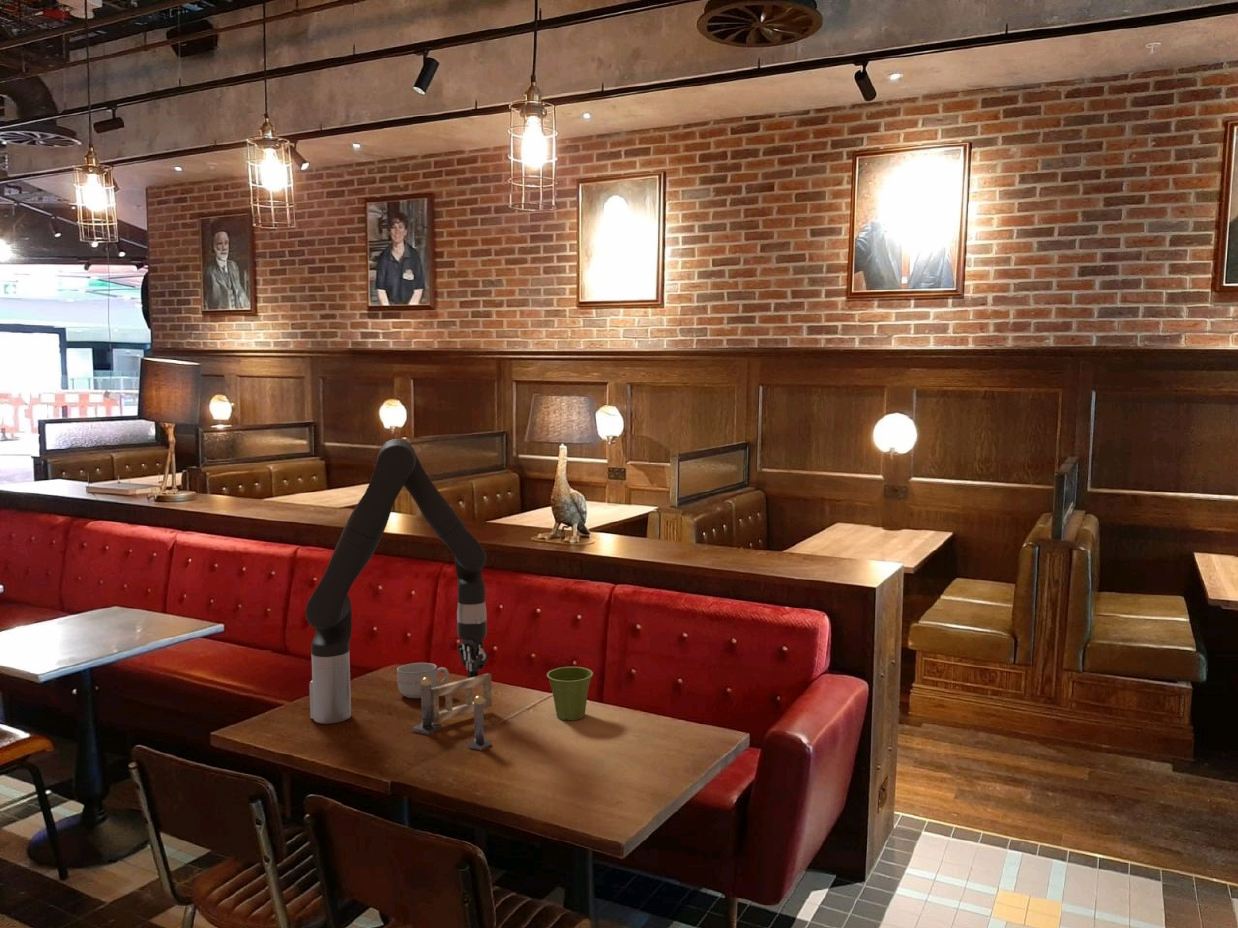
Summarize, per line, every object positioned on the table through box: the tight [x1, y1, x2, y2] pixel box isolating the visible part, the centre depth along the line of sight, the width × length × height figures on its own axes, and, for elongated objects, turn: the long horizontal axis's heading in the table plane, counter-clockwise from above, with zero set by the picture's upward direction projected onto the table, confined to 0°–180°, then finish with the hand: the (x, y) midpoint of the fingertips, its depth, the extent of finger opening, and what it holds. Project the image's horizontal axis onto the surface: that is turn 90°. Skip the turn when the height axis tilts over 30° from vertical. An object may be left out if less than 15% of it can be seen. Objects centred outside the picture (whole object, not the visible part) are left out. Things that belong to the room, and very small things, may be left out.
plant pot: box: [546, 666, 594, 721], centre depth 236 cm, size 12×12×11 cm
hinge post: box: [411, 677, 442, 736], centre depth 227 cm, size 5×5×13 cm
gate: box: [431, 672, 493, 724], centre depth 234 cm, size 17×2×8 cm, turn 134°
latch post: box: [467, 695, 492, 751], centre depth 217 cm, size 4×4×12 cm
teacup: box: [396, 662, 450, 699], centre depth 252 cm, size 14×11×8 cm
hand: (473, 683), depth 240 cm, fingers closed
